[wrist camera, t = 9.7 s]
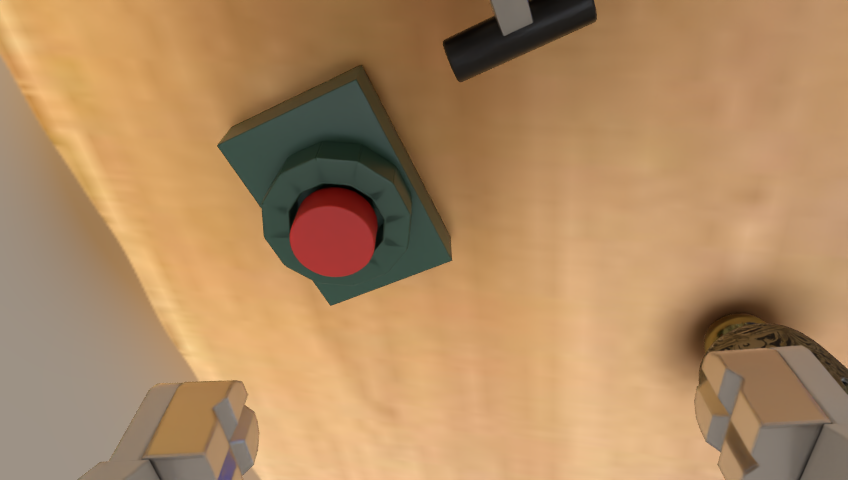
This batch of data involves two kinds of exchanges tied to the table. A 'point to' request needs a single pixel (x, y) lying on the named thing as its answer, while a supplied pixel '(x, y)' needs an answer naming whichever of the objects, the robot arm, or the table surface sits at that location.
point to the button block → (339, 179)
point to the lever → (514, 32)
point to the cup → (765, 341)
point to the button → (334, 232)
